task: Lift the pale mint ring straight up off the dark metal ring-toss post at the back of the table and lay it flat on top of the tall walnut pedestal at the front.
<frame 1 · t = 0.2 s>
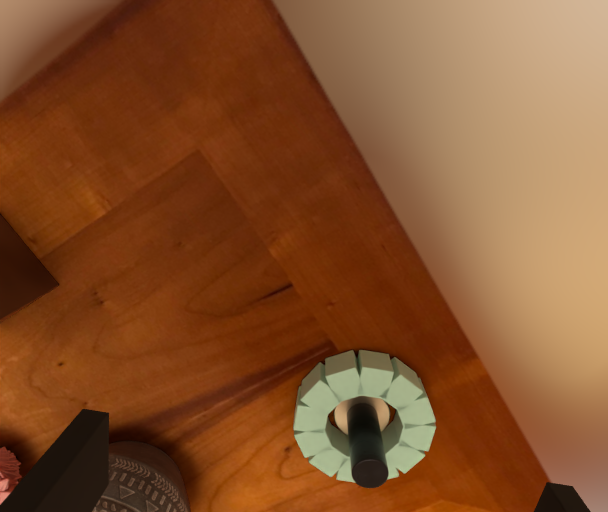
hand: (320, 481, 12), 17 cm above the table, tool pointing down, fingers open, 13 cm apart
flower: (4, 455, 35), on the table
ring: (360, 407, 32), on the table
planter: (137, 476, 35), on the table
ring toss: (360, 407, 32), on the table
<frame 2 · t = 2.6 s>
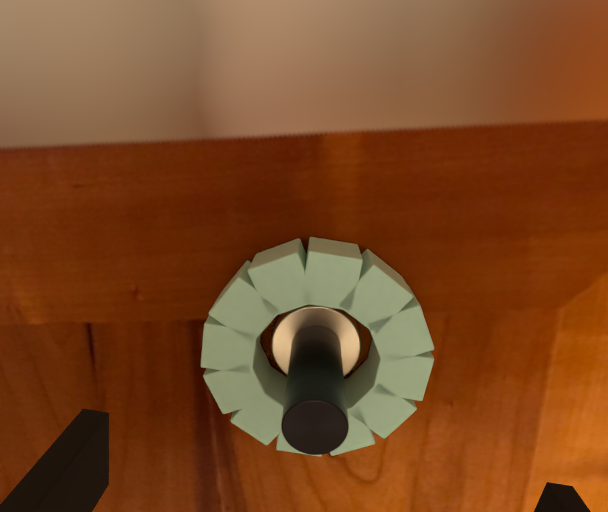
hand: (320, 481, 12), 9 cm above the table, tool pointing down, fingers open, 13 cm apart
ring: (316, 337, 20), on the table
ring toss: (316, 337, 20), on the table
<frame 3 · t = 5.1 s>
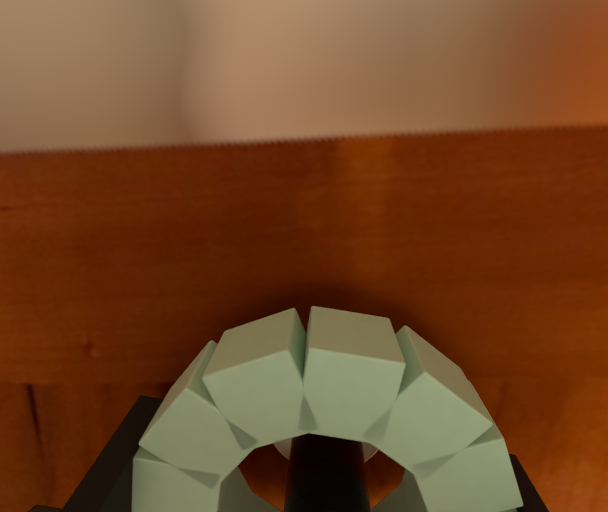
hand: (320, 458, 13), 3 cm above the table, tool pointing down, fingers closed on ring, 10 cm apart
ring: (320, 452, 13), point 2 cm above the table, touching gripper
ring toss: (326, 406, 15), on the table
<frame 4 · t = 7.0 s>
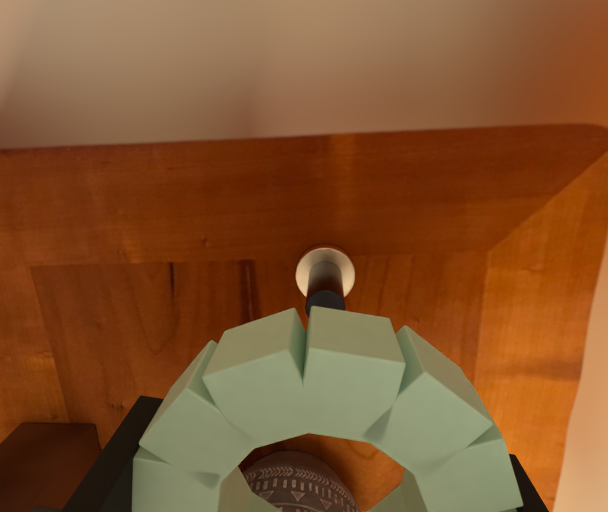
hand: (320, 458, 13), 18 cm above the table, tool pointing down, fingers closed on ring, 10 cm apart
ring: (320, 452, 13), point 18 cm above the table, touching gripper
planter: (292, 484, 36), on the table
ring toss: (325, 271, 30), on the table
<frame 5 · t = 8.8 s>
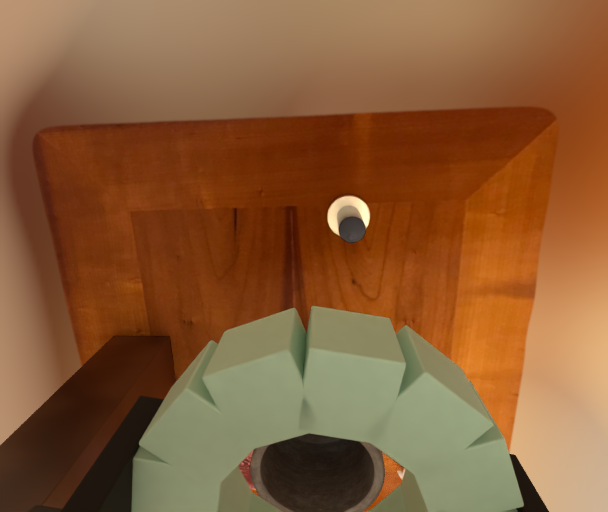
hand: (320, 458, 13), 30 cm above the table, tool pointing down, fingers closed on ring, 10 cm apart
flower: (259, 445, 51), on the table
ring: (321, 453, 13), point 30 cm above the table, touching gripper
planter: (318, 385, 48), on the table
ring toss: (348, 215, 41), on the table
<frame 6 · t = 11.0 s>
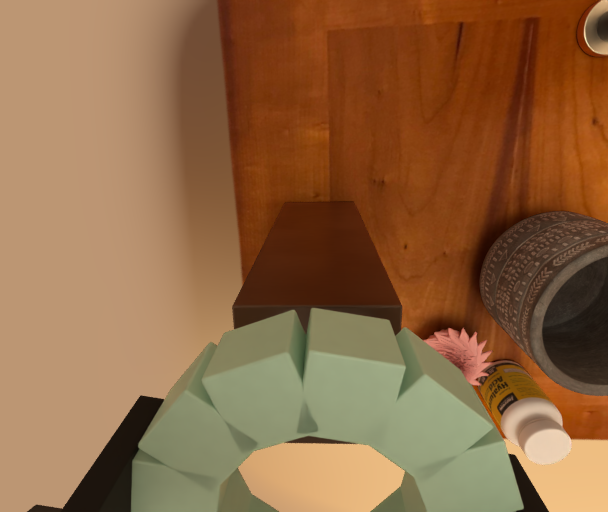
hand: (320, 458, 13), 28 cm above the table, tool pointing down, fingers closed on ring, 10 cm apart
flower: (441, 343, 43), on the table
supplement bottle: (499, 378, 44), on the table
ring: (320, 454, 13), point 28 cm above the table, touching gripper
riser: (317, 379, 17), on the table
planter: (526, 263, 40), on the table
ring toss: (603, 28, 33), on the table
when the fingers open (24 cm above the table, at t = 12.5 s): ring stays where it is, resting on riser.
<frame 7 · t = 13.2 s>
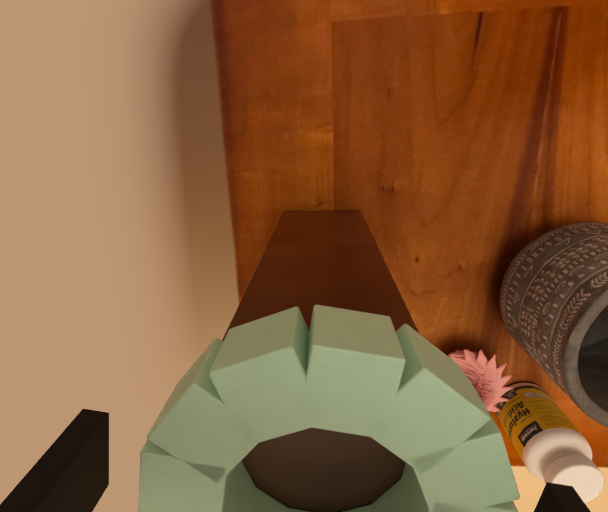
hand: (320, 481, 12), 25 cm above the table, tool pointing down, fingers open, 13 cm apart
flower: (455, 364, 39), on the table
supplement bottle: (518, 402, 40), on the table
ring: (323, 448, 13), point 24 cm above the table, touching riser
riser: (321, 446, 13), on the table
planter: (550, 277, 36), on the table
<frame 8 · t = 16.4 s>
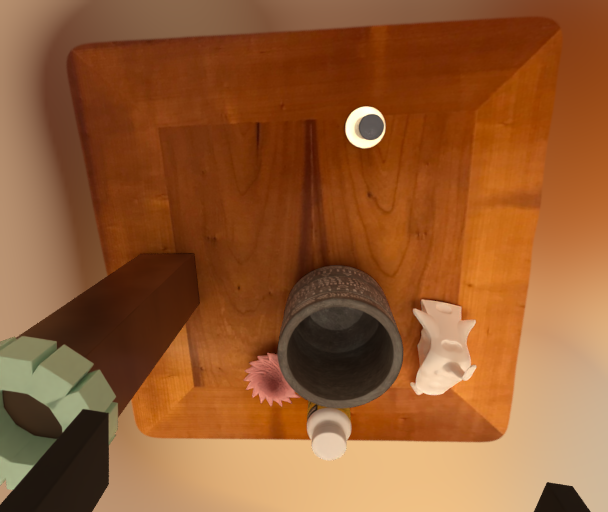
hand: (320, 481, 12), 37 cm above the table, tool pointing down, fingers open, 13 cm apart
flower: (278, 363, 53), on the table
supplement bottle: (328, 391, 54), on the table
ring: (43, 404, 27), point 24 cm above the table, touching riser
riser: (42, 403, 27), on the table
planter: (335, 300, 50), on the table
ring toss: (364, 127, 43), on the table
figurine: (426, 343, 51), on the table
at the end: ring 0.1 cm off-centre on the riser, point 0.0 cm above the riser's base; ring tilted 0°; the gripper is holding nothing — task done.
